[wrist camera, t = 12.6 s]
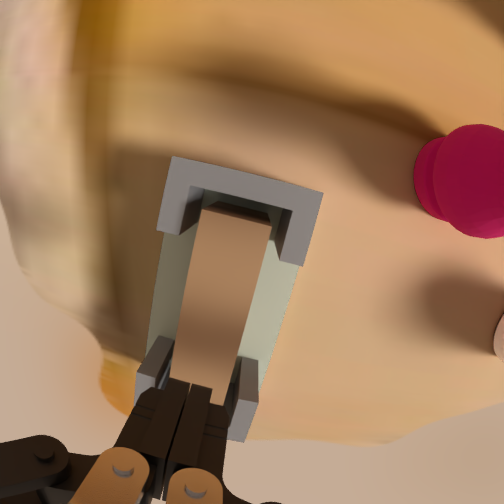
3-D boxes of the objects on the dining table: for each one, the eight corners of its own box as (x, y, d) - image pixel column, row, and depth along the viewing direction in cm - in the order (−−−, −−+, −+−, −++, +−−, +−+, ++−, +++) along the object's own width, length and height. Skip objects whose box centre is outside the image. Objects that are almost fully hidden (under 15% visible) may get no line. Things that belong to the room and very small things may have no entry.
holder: (183, 159, 21) (156, 153, 15) (316, 192, 21) (338, 197, 15) (147, 365, 24) (122, 410, 18) (256, 392, 24) (255, 444, 18)
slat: (217, 200, 20) (201, 209, 14) (267, 213, 20) (271, 226, 14) (183, 362, 23) (164, 413, 17) (225, 373, 23) (216, 426, 17)
